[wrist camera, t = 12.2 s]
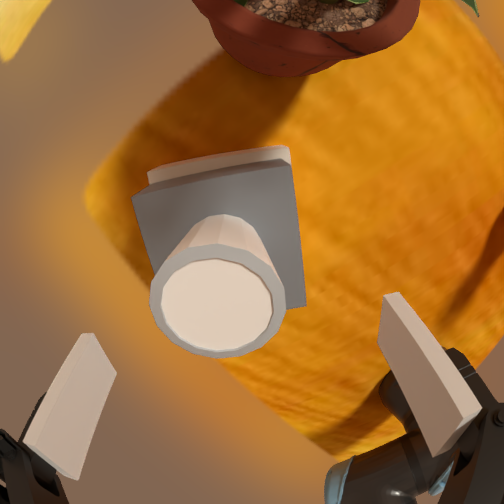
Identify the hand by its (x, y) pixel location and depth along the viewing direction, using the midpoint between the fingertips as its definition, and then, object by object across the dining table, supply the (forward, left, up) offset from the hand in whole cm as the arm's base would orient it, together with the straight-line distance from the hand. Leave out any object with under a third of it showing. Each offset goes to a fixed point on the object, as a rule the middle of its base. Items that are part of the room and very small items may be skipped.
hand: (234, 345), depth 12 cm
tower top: (0, +1, -14) cm, 14 cm away
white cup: (0, +1, -10) cm, 10 cm away
